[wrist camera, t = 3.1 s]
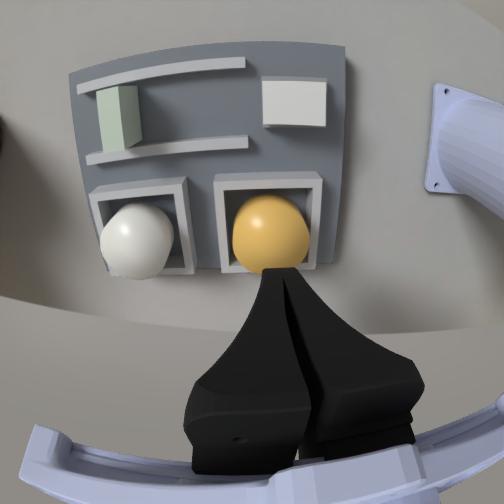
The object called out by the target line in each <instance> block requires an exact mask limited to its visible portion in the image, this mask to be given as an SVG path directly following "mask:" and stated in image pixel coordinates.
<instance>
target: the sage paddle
mask: <svg viewBox="0 0 504 504" xmlns="http://www.w3.org/2000/svg"><path fill="white" fill-rule="evenodd" d="M96 97H97V107H98V116H99V125H100V132H101V140H102V146H103V153H109V152H114V151H121V150H125V149H127V148H129V147H131V146H132V145H134V144H136V143H137V142H139V141H141V140H143V138H142V130H141V120H140V110H139V99H138V86H117V87H112V88H108V89H104V90H100V91H96Z"/></svg>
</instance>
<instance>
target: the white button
mask: <svg viewBox="0 0 504 504" xmlns="http://www.w3.org/2000/svg"><path fill="white" fill-rule="evenodd" d="M173 242H174V229H173V226H172V223H171V221H170V219H169V218H168V216H167V215H166V214H165V213H164V212H163V211H162V210H161V209H159V208H158V207H156V206H154V205H152V204H149V203H146V202H132V203H129V204H127V205H125V206H123V207H122V208H121V209H120V210H119V211H118V212H117V213H116V214H115V215H114V216H113V218H112V219H111V220H110V221H109V222H108V223H107V225H106V226H105V227H104V229H103V231H102V233H101V237H100V248H101V252H102V255H103V257H104V259H105V261H106V262H107V263H108V265H109V266H110V267H111V268H112V269H113V270H114V271H116V272H117V273H119V274H120V275H122V276H124V277H127V278H130V279H135V280H144V279H149V278H152V277H154V276H155V275H157V274H158V273H159V272H160V271H161V270H162V269H163V267H164V266H165V263H166V261H167V258H168V256H169V253H170V250H171V248H172V245H173Z"/></svg>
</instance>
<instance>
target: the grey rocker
mask: <svg viewBox="0 0 504 504" xmlns="http://www.w3.org/2000/svg"><path fill="white" fill-rule="evenodd" d="M262 95H263V124H287V125H312V126H325V123H326V82H308V81H262Z"/></svg>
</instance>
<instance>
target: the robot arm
mask: <svg viewBox="0 0 504 504" xmlns="http://www.w3.org/2000/svg"><path fill="white" fill-rule="evenodd" d="M445 89H446V91H447V93H446V95H445V93H444V90H445ZM435 183H437V185H436V187H434V185H435ZM424 187H425V189H426V190H427V191H429V192H441V193H454V194H467V195H469V196H470V197H472V198H473V199H475V200H476V201H478V202H479V203H481V204H482V205H484V206H485V207H486V208H488V209H489V210H491V211H492V212H493V213H495V214H496V215H497V216H499V217H500V218H501V219H503V220H504V105H501V104H499V103H496V102H494V101H491V100H489V99H486V98H484V97H481V96H478V95H475V94H473V93H470V92H467V91H464V90H461V89H458V88H454V87H451V86H448V85H445V84H440V83H437V84H435V85H434V89H433V110H432V124H431V135H430V145H429V153H428V161H427V168H426V175H425V181H424ZM424 387H425V385H424V382H423V380H422V378H421V376H420V374H419V371H418V369H417V368H416V366H415V364H414V363H413V361H412V360H410V359H408V358H405V357H403V356H401V355H399V354H396V353H394V352H392V351H389V350H388V349H386V348H384V347H382V346H380V345H379V344H377V343H375V342H373V341H372V340H370V339H368V338H367V337H365V336H364V335H362V334H361V333H359V332H358V331H356V330H355V329H354V328H352V327H351V326H350V325H348V324H347V323H346V322H345V321H343V320H342V319H341V318H340V317H339V316H338V315H337V314H335V313H334V312H333V311H332V310H331V309H330V308H329V307H328V306H327V305H326V304H325V303H324V302H323V301H322V300H321V298H320V297H319V296H318V295H317V294H316V293H315V292H314V290H313V289H312V288H311V287H310V286H309V284H308V283H307V282H306V281H305V279H304V278H303V277H302V275H301V274H300V273H299V271H298V270H297V269H296V268H295V267H286V268H265V269H263V270H262V279H261V284H260V288H259V291H258V294H257V297H256V300H255V302H254V304H253V307H252V309H251V311H250V313H249V315H248V317H247V319H246V321H245V323H244V325H243V326H242V328H241V330H240V331H239V333H238V334H237V336H236V338H235V339H234V340H233V342H232V343H231V345H230V346H229V347H228V349H227V350H226V351H225V352H224V353H223V355H222V356H221V357H220V358H219V359H218V360H217V361H216V363H215V364H214V365H213V366H212V367H211V368H210V369H209V370H208V371H207V372H206V373H205V374H203V375H202V376H201V377H200V378H199V379H198V380H197V381H196V382H195V384H194V387H193V389H192V391H191V394H190V396H189V399H188V402H187V406H186V409H185V417H184V425H183V427H184V432H185V433H186V435H187V437H188V439H189V441H190V442H191V444H192V446H193V454H192V455H193V456H192V462H182V461H171V460H161V459H154V458H146V457H140V456H133V455H128V454H122V453H117V452H111V451H107V450H102V449H98V448H94V447H90V446H86V445H82V444H78V443H74V442H72V440H71V439H70V438H69V437H68V436H66V435H65V434H64V433H61V432H60V431H57V430H55V429H52V428H48V427H45V426H42V425H39V424H35V426H34V429H33V432H32V434H31V437H30V440H29V443H28V446H27V449H26V453H25V456H24V459H23V463H22V466H21V469H20V473H19V477H20V479H22V480H23V481H25V482H27V483H28V484H30V485H32V486H34V487H35V488H37V489H39V490H41V491H43V492H45V493H47V494H49V495H51V496H53V497H54V498H57V499H59V500H62V501H64V502H67V503H69V504H441V502H440V499H439V495H438V493H440V492H443V491H444V490H447V489H449V488H451V487H453V486H455V485H457V484H459V483H461V482H463V481H464V480H466V479H468V478H470V477H472V476H474V475H475V474H477V473H479V472H480V471H482V470H484V469H486V468H487V467H489V466H491V465H492V464H494V463H495V462H497V461H499V460H500V459H502V458H503V457H504V393H503V394H502V395H501V396H500V397H499V398H498V399H497V400H496V402H495V403H494V404H492V405H490V406H488V407H486V408H483V409H481V410H479V411H477V412H475V413H473V414H470V415H468V416H466V417H463V418H461V419H459V420H456V421H454V422H451V423H449V424H446V425H444V426H441V427H438V428H435V429H433V430H430V431H427V432H424V433H421V434H418V435H415V436H414V433H413V431H412V428H411V425H410V423H412V421H413V418H412V415H411V412H410V411H411V410H412V408H413V407H414V406H415V404H416V403H417V401H418V400H419V399H420V397H421V395H422V393H423V391H424ZM297 450H298V451H299V452H298V453H299V460H295V456H296V453H297Z"/></svg>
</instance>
